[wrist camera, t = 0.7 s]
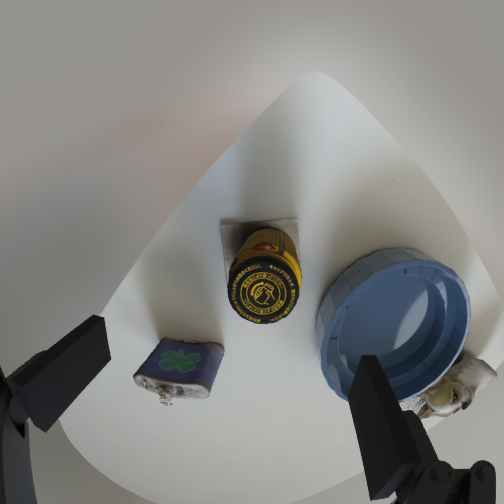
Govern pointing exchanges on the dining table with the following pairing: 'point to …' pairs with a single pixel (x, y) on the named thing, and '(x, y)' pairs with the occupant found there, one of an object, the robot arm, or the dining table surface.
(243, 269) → the condiment
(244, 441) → the dining table surface
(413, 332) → the basin
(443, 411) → the ceramic sculpture
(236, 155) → the dining table surface
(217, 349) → the flask
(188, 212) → the dining table surface
